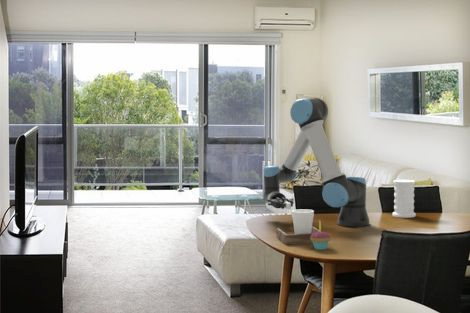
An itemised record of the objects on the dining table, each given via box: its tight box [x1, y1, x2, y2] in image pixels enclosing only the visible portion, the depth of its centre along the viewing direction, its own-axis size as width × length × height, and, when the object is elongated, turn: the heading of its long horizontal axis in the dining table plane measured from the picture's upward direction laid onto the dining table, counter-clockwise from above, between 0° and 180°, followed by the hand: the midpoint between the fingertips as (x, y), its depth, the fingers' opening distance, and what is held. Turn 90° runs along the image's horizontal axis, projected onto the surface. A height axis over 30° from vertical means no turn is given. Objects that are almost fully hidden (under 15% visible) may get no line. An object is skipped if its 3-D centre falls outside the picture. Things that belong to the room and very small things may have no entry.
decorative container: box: [392, 179, 417, 219], centre depth 379 cm, size 12×12×18 cm
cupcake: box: [310, 220, 332, 251], centre depth 305 cm, size 9×8×12 cm
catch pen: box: [276, 226, 319, 245], centre depth 323 cm, size 16×17×4 cm
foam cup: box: [291, 208, 315, 234], centre depth 321 cm, size 10×9×13 cm
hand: (289, 206), depth 337 cm, fingers closed
